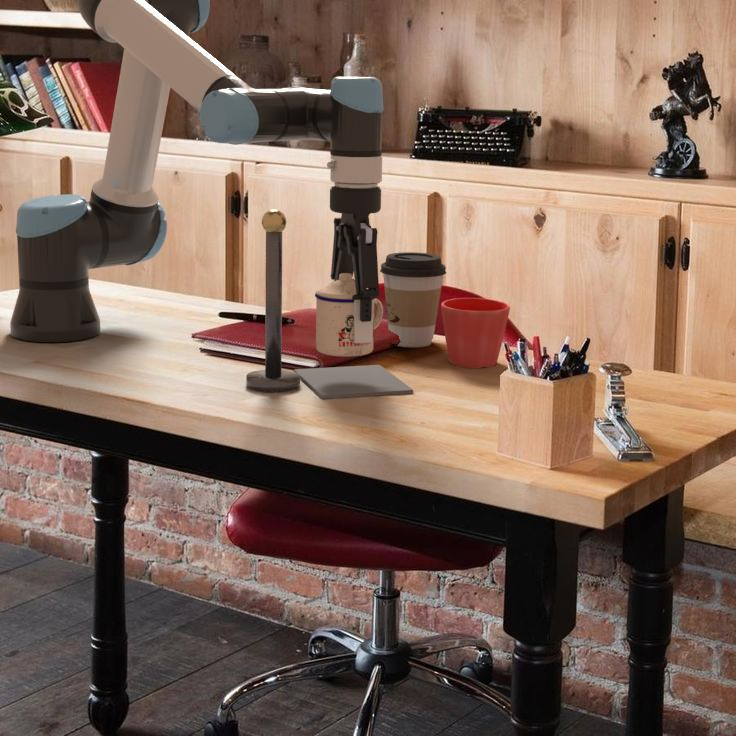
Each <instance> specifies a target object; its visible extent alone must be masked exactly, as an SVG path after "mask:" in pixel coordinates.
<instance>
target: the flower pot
mask: <svg viewBox="0 0 736 736" xmlns="http://www.w3.org/2000/svg"><path fill="white" fill-rule="evenodd" d="M440 307H441V315H442V323H443V324H442V325H443V329H444V330H443V332H444V337H445V343H446V348H447V349H446V350H447V355H448V362H449V363H450V364H451V365H454V366H457V367H461V368H468V369H469V368H470V369H482V368H490V367H494V366H496V365H497V362H498V359H499V356H500V352H501V348H502V344H503V341H504V335H505V331H506V327H507V323H508V320H509V319H508V318H509V315H510V309H511V307H510V305H509V304H508V303H505V302H503V301H499V300H496V299H490V298H480V297H460V298H459V297H458V298H457V297H456V298H451V299H446V300H444V301H442V302H441V305H440Z"/></svg>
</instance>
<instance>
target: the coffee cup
mask: <svg viewBox="0 0 736 736" xmlns="http://www.w3.org/2000/svg"><path fill="white" fill-rule="evenodd" d="M385 257H386V258H385V262H383V263H381V264H380V271H379V273H381V274H382V276H383V285H384V297H385V305H386V313H387V314H386V316H387V325H388V326H387V327H388V331H389V330H390V331H391V332H393V333H395V334H397V335H398V336H399V339H400V341H401V342H400V343H399V344H398V345H397V346H396V347H401V348H424V347H428V346H431V345H432V343H433V342H432V341H433V339H434V335H435V329H436V322H437V318H438V317H437V316H438V311H439V304H440V298H441V291H442V285H443V279H444V275H446V274H447V271H446V269H447V268H446V267H447V266H446V265H445V264H443V263H442V259H441V256H440V255H438V254H433V253H426V252H416V251H415V252H412V251H411V252H409V251H408V252H407V251H406V252H393V253H389V254H388V255H386V256H385Z"/></svg>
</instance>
